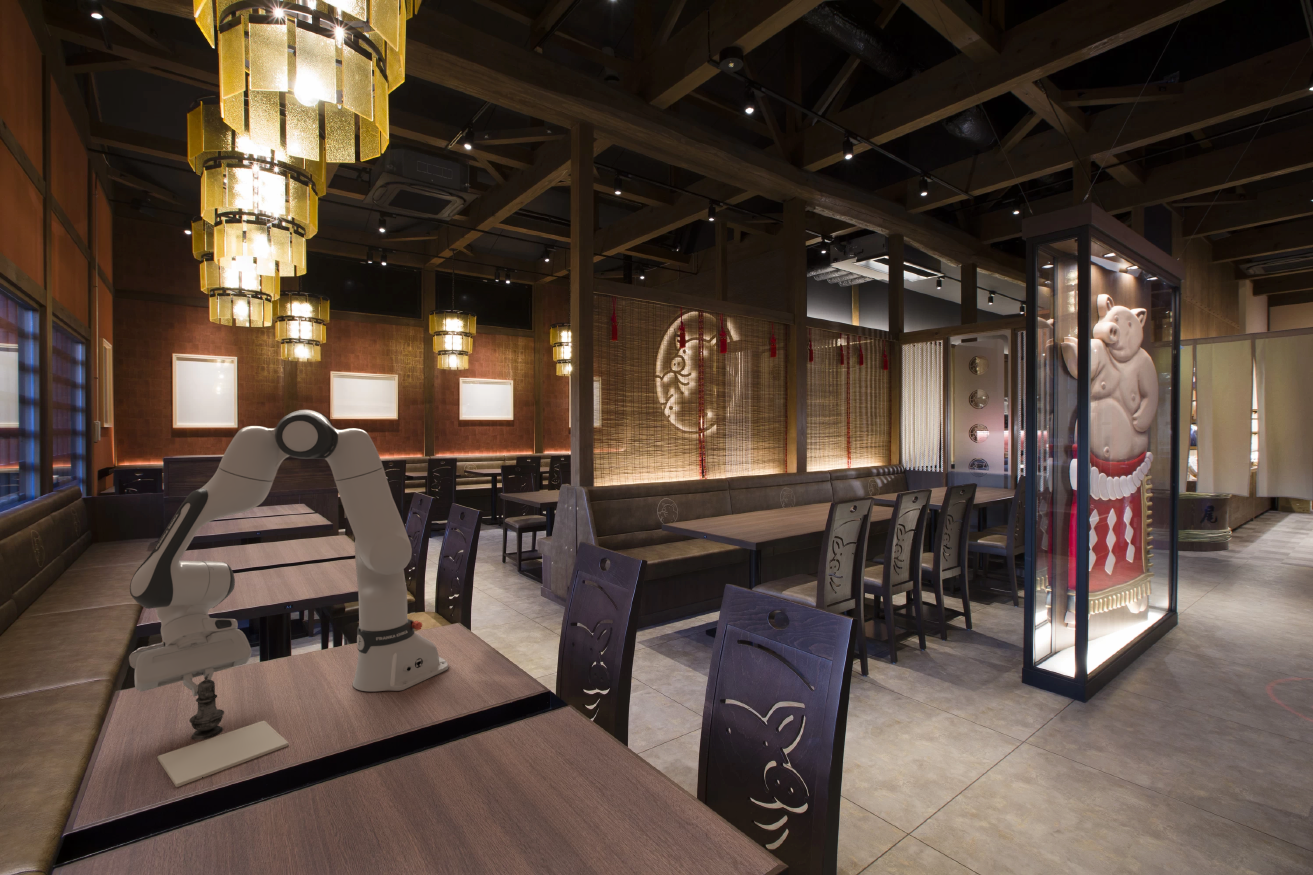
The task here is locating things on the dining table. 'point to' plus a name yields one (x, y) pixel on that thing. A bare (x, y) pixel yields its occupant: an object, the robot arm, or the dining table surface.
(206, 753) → the placemat
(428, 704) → the dining table surface
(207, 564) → the robot arm
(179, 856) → the dining table surface
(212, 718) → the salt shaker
